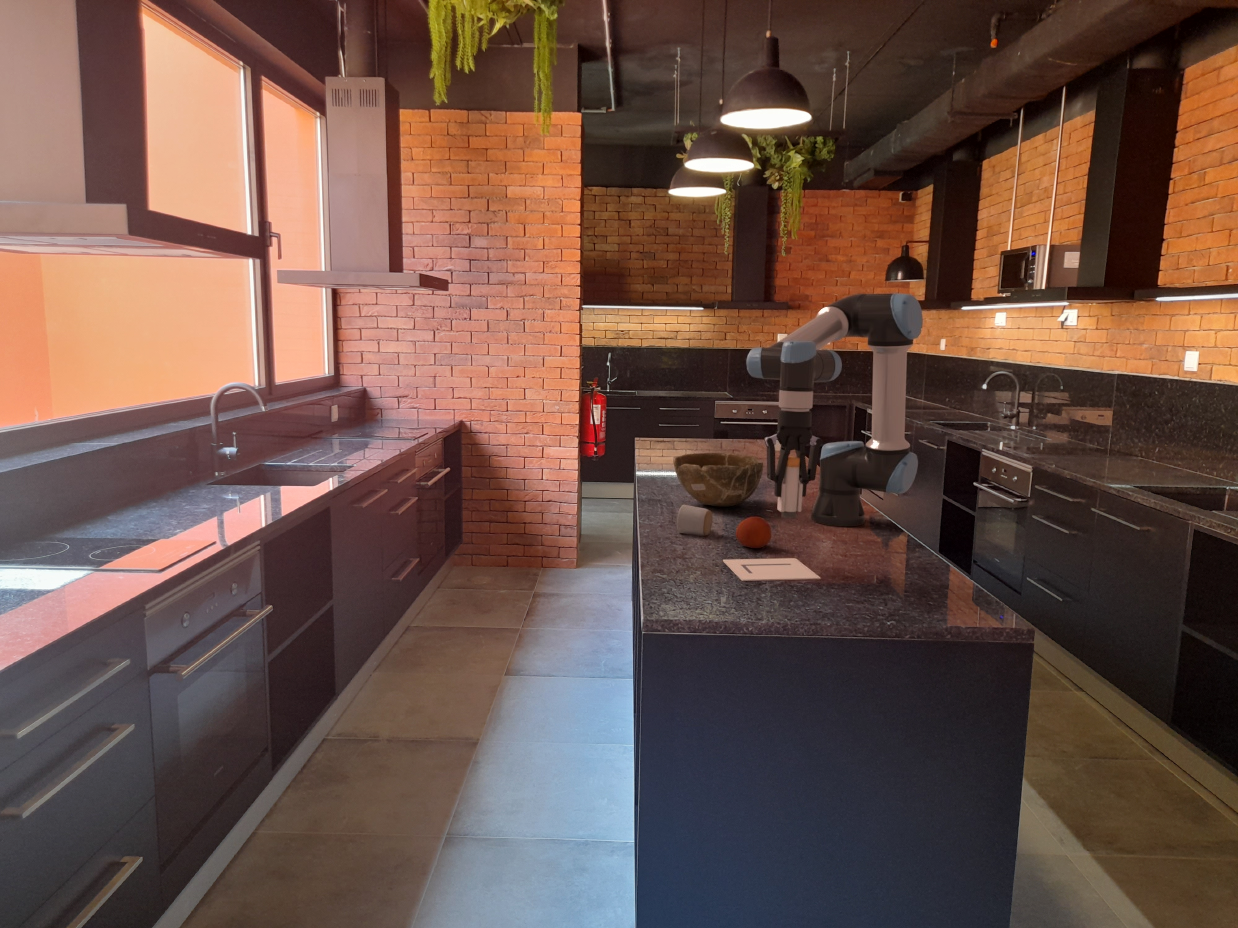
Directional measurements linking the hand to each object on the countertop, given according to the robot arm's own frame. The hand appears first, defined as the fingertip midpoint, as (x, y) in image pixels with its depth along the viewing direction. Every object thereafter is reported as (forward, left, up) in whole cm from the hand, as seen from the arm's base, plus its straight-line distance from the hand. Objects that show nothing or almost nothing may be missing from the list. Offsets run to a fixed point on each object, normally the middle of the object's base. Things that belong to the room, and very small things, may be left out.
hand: (789, 510), depth 195 cm
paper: (+5, +3, -13) cm, 14 cm away
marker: (0, 0, -2) cm, 2 cm away
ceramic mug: (+14, -33, -14) cm, 38 cm away
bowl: (-1, -66, -13) cm, 68 cm away
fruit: (+3, -17, -13) cm, 22 cm away
